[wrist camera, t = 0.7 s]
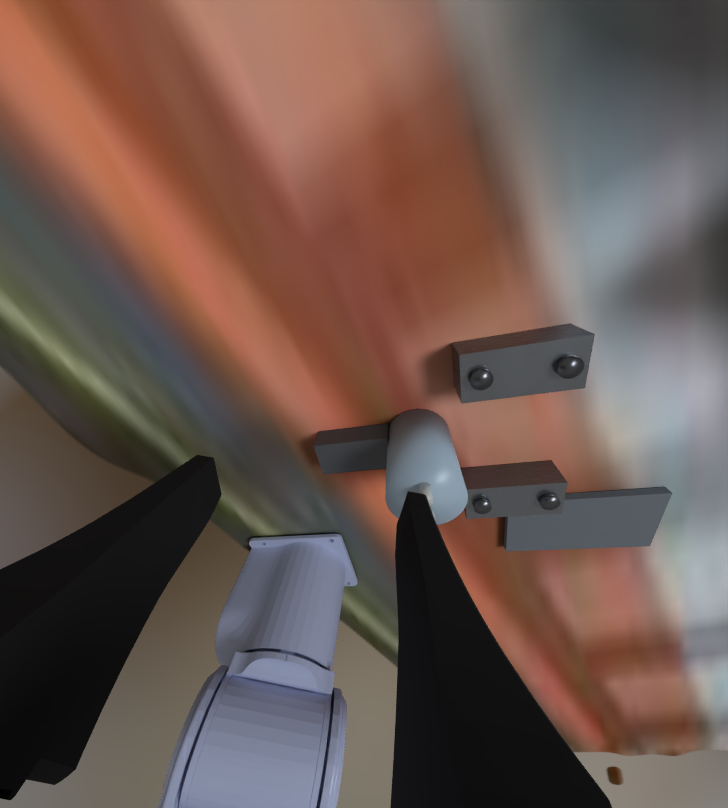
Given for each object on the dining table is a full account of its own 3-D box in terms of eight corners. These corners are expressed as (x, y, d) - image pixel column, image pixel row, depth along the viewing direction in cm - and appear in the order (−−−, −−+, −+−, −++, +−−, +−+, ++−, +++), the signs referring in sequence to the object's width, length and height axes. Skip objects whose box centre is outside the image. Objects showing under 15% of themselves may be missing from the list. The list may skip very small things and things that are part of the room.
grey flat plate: (503, 544, 26) (506, 551, 25) (506, 497, 23) (508, 503, 22) (644, 539, 24) (649, 546, 23) (665, 486, 21) (672, 493, 20)
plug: (330, 466, 23) (308, 546, 17) (315, 421, 21) (284, 493, 15) (450, 455, 21) (473, 539, 15) (447, 405, 19) (471, 478, 13)
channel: (460, 496, 23) (467, 523, 21) (451, 342, 17) (460, 357, 15) (547, 490, 22) (564, 518, 20) (570, 323, 16) (599, 336, 14)
